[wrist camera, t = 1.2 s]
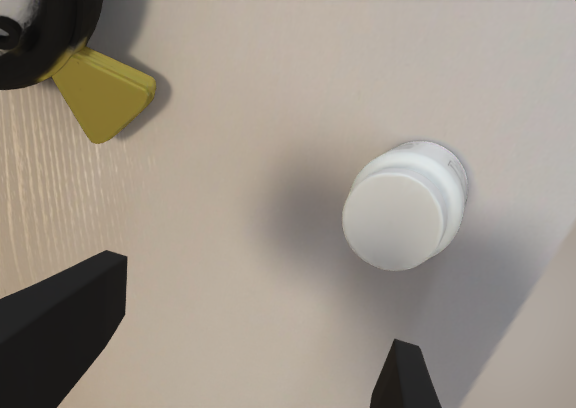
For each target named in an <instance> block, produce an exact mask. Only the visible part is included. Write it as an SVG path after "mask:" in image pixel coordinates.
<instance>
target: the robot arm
mask: <svg viewBox="0 0 576 408" xmlns="http://www.w3.org/2000/svg"><path fill="white" fill-rule="evenodd" d="M126 282H127V256H124V255H121V254H117V253H114V252H111V251H108V250H106V251H103V252H101V253H99V254H97V255H95V256H93V257H91V258H89V259H86V260H84V261H82V262H80V263H78V264H76V265H74V266H72V267H70V268H68V269H66V270H64V271H62V272H60V273H58V274H56V275H53V276H51V277H49V278H47V279H45V280H43V281H41V282H39V283H37V284H34V285H32V286H30V287H28V288H25V289H23V290H20V291H18V292H16V293H13V294H11V295H9V296H6V297H4V298H2V299H0V408H57V407H58V405H59V404H60V403H61V402H62V400H63V399H64V398H65V397H66V395H67V394H68V393H69V392H70V391H71V389H72V388H73V387H74V386H75V384H76V383H77V382H78V381H79V379H80V378H81V377H82V376H83V374H84V373H85V372H86V371H87V370H88V368H89V367H90V366H91V365H92V363H93V362H94V361H95V359H96V358H97V357H98V356H99V354H100V353H101V352H102V351H103V349H104V348H105V347H106V345H107V344H108V342H109V340H110V339H111V337H112V336H113V334H114V333H115V331H116V329H117V327H118V326H119V324H120V322H121V321H122V319H123V317H124V316H125V306H126ZM370 408H442V407H441V405H440V402H439V400H438V397H437V394H436V392H435V389H434V386H433V384H432V381H431V378H430V375H429V373H428V370H427V367H426V364H425V361H424V358H423V354H422V351H421V349H420V348H419V346H416V345H413V344H410V343H407V342H403V341H400V340H397V339H394V341H393V344H392V346H391V349H390V351H389V354H388V356H387V358H386V361H385V363H384V366H383V368H382V371H381V373H380V376H379V378H378V380H377V383H376V385H375V388H374V390H373V393H372V397H371V403H370Z"/></svg>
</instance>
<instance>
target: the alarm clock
mask: <svg viewBox="0 0 576 408" xmlns="http://www.w3.org/2000/svg"><path fill="white" fill-rule="evenodd" d="M102 2H103V0H0V90H11V89H19V88H25V87H28V86H31V85H34V84H37V83H39V82H41V81H43V80H45V79H47V78H49V77H52V79H53V80H54V82H55V84H56V85H57V87H58V89H59V90H60V92H61V94H62V96H63V97H64V99H65V101H66V102H67V104H68V105H69V107H70V109H71V110H72V112H73V114H74V116H75V117H76V119H77V121H78V122H79V124H80V126H81V127H82V129H83V131H84V132H85V134H86V135H87V137H88V138H89V140H90V141H91V142H93V143H95V144H100V143H104V142H106V141H108V140H110V139H111V138H113V137H114V136H115V135H116V134H118V133H119V132H120V131H121V130H122V129H123V128H125V127H126V126H127V125H128V124H129V123H130V122H131V121H132V120H133V119H134V118H135V117H136V116H137V115H138V114H139V113H141V112H142V111H143V110H144V109H145V108H146V107H147V106H148V105H149V104H150V102H151V101H152V100H153V99H154V95H155V90H156V81H155V80H154V78H153V77H151V76H149V75H147V74H145V73H143V72H140V71H138V70H136V69H134V68H132V67H130V66H127V65H125V64H123V63H121V62H119V61H116V60H114V59H112V58H110V57H108V56H105V55H103V54H101V53H99V52H97V51H95V50H92V49H90V48H88V47H86V44H87V42H88V40H89V39H90V37H91V35H92V33H93V32H94V30H95V27H96V24H97V22H98V19H99V16H100V13H101V8H102Z"/></svg>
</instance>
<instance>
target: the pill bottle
mask: <svg viewBox="0 0 576 408" xmlns="http://www.w3.org/2000/svg"><path fill="white" fill-rule="evenodd" d="M467 192H468V182H467V176H466V173H465V171H464V168H463V166H462V164H461V163H460V161H459V160H458V159H457V158H456V156H455V155H454V154H452V153H451V152H450V151H449V150H447V149H446V148H444V147H442V146H440V145H438V144H435V143H431V142H426V141H415V142H408V143H405V144H402V145H400V146H397V147H395V148H393V149H392V150H390V151H388V152H386V153H384V154H382V155H380V156H378V157H377V158H375V159H373V160H372V161H371V162H369V163H368V164H367V165H366V166H365V167H364V168H363V169H362V170H361V171H360V172H359V174H358V175H357V176H356V178H355V180H354V182H353V184H352V186H351V189H350V193H349V195H348V197H347V199H346V202H345V204H344V207H343V212H342V227H343V231H344V235H345V237H346V240H347V242H348V244H349V245H350V247H351V249H352V250H353V251H354V252H355V253H356V254H357V255H358V256H359V257H360V258H361V259H362V260H363V261H365V262H367V263H368V264H370V265H372V266H374V267H376V268H379V269H383V270H389V271H402V270H407V269H411V268H414V267H416V266H418V265H420V264H422V263H423V262H425V261H426V260H427V259H429V258H431V257H433V256H435V255H437V254H438V253H440V252H441V251H443V250H444V249H445V248H446V247H447V246H448V245H449V244H450V243H451V242H452V240H453V239H454V237H455V236H456V234H457V232H458V230H459V227H460V225H461V222H462V218H463V213H464V208H465V204H466V200H467Z"/></svg>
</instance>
